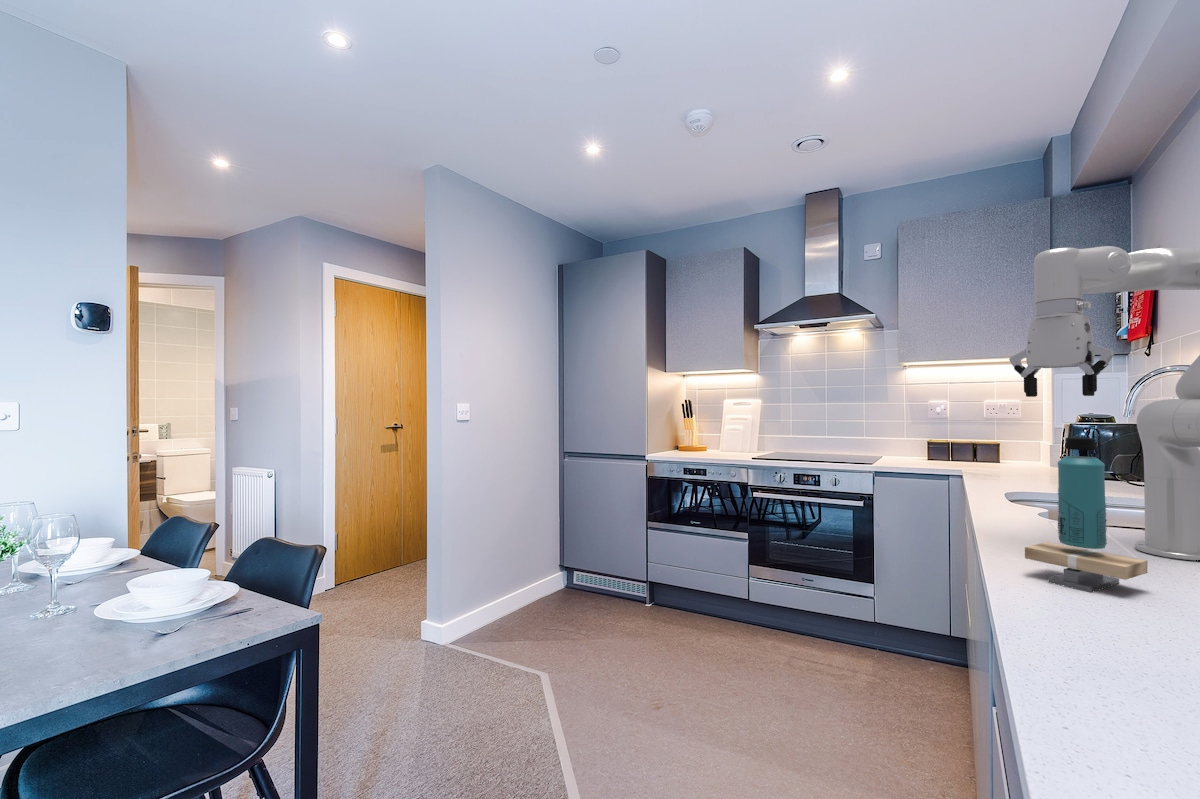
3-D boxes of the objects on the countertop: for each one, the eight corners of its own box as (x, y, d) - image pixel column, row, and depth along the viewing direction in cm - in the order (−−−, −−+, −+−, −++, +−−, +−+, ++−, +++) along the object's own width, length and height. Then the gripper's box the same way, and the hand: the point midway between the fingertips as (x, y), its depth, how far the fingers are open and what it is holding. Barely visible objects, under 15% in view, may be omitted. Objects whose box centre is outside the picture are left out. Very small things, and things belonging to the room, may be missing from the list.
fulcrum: (1076, 574, 102) (1076, 559, 102) (1119, 583, 97) (1119, 567, 97) (1048, 582, 97) (1048, 566, 97) (1091, 592, 92) (1091, 575, 92)
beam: (1047, 552, 105) (1047, 541, 105) (1147, 572, 93) (1147, 560, 93) (1024, 558, 101) (1024, 547, 101) (1125, 580, 89) (1125, 567, 89)
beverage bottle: (1117, 558, 94) (1117, 438, 94) (1076, 557, 95) (1076, 438, 95) (1086, 548, 101) (1085, 436, 101) (1047, 547, 101) (1047, 435, 101)
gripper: (1121, 306, 108) (1122, 395, 108) (1019, 318, 123) (1020, 397, 123) (1103, 302, 105) (1104, 395, 104) (1000, 316, 120) (1001, 396, 120)
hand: (1058, 396), depth 114 cm, fingers open, 9 cm apart
